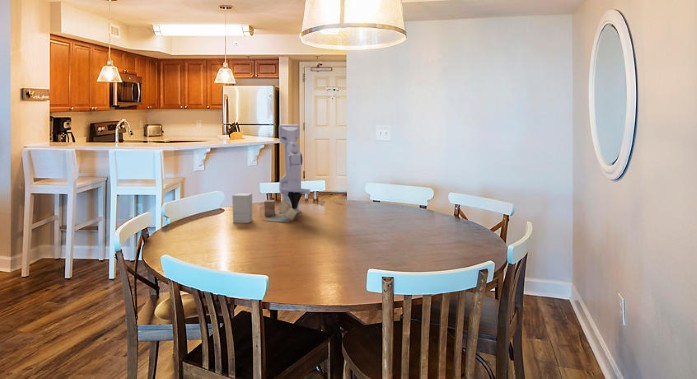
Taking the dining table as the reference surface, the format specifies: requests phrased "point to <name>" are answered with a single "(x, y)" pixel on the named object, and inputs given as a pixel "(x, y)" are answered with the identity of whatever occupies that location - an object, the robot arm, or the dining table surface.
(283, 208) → the maple block
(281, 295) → the dining table surface
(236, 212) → the supplement box
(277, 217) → the felt mat
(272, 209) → the walnut block
